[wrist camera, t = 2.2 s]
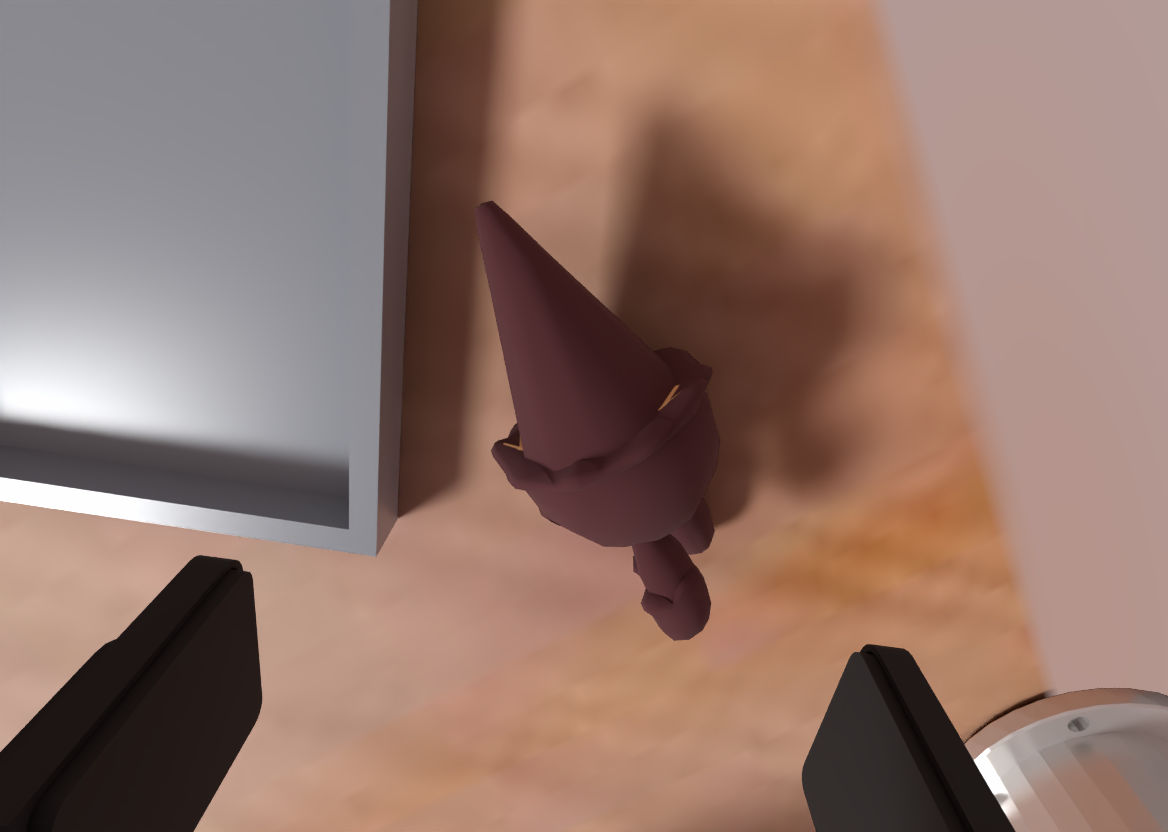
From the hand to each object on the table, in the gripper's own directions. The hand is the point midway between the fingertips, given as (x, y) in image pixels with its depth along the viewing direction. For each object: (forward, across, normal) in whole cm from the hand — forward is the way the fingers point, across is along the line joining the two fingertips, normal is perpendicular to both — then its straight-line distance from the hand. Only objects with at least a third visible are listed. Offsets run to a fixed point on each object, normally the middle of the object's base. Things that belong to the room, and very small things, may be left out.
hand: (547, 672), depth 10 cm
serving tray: (+14, +15, -3) cm, 21 cm away
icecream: (+14, -1, +1) cm, 14 cm away
